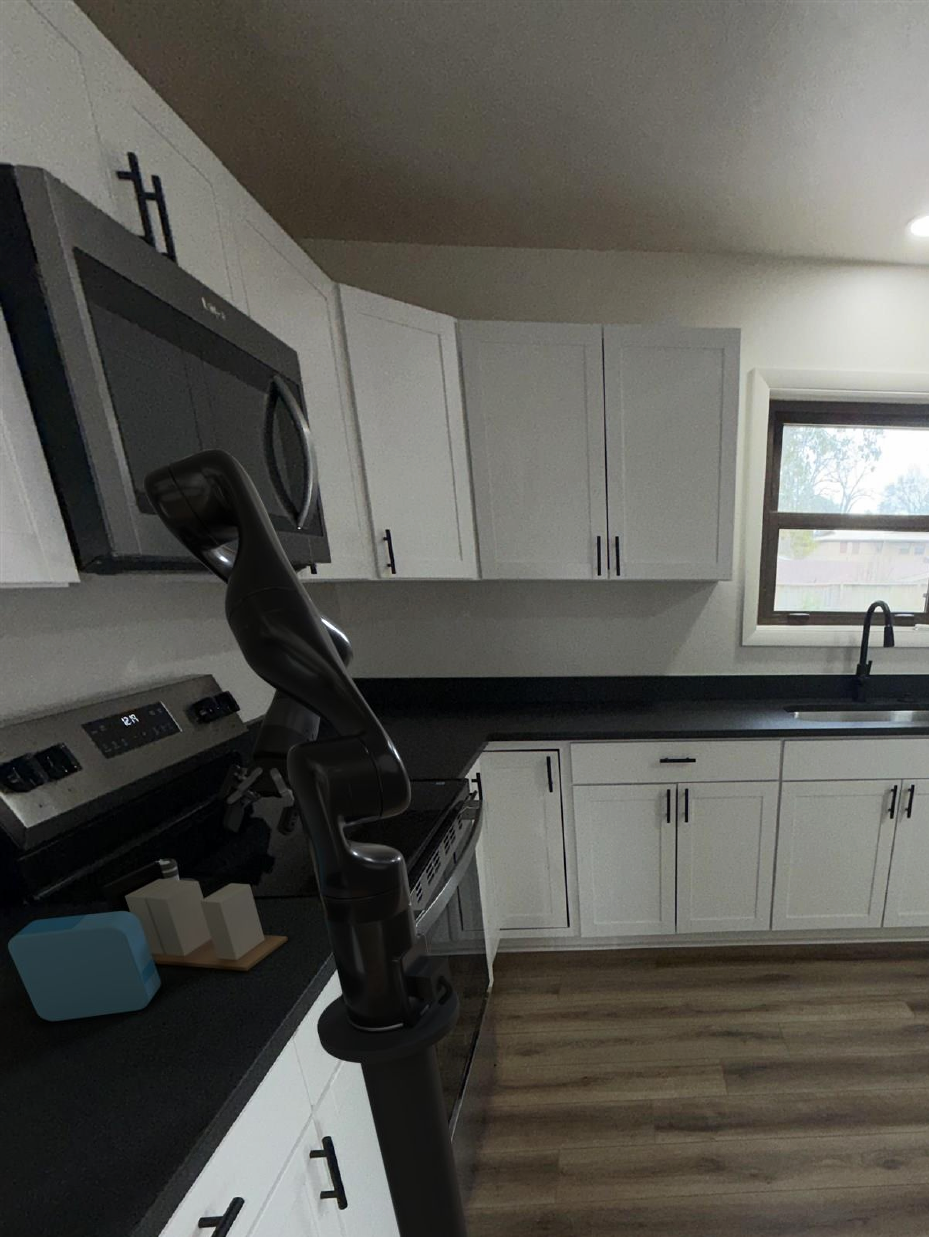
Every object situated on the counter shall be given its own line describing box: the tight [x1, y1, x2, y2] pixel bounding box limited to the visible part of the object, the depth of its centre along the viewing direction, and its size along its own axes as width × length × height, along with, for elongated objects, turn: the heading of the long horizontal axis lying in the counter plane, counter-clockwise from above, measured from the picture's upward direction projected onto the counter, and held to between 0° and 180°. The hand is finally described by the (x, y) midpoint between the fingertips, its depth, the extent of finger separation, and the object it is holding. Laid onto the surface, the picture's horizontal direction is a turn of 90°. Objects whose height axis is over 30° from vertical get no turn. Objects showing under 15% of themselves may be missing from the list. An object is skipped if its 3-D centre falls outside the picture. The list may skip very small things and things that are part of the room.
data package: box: [7, 911, 162, 1022], centre depth 88 cm, size 12×4×12 cm, turn 105°
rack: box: [101, 861, 289, 972], centre depth 101 cm, size 18×9×12 cm, turn 81°
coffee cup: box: [154, 858, 198, 881], centre depth 123 cm, size 12×12×5 cm
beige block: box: [200, 882, 265, 960], centre depth 101 cm, size 3×6×9 cm, turn 171°
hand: (256, 831), depth 104 cm, fingers open, 8 cm apart
